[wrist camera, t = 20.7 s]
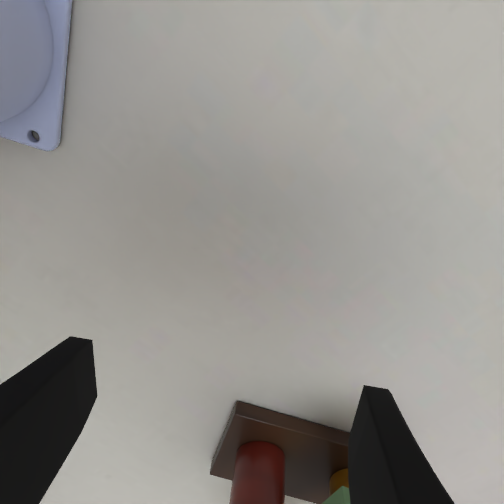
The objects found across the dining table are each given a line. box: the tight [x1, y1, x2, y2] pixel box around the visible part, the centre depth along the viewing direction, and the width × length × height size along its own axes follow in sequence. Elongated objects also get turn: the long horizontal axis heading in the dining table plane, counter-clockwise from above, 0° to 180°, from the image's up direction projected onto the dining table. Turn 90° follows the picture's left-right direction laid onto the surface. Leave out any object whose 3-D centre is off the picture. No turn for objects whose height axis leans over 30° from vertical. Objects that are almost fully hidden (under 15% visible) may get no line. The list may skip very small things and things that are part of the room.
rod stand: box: [210, 401, 350, 504], centre depth 26 cm, size 11×6×6 cm, turn 73°
